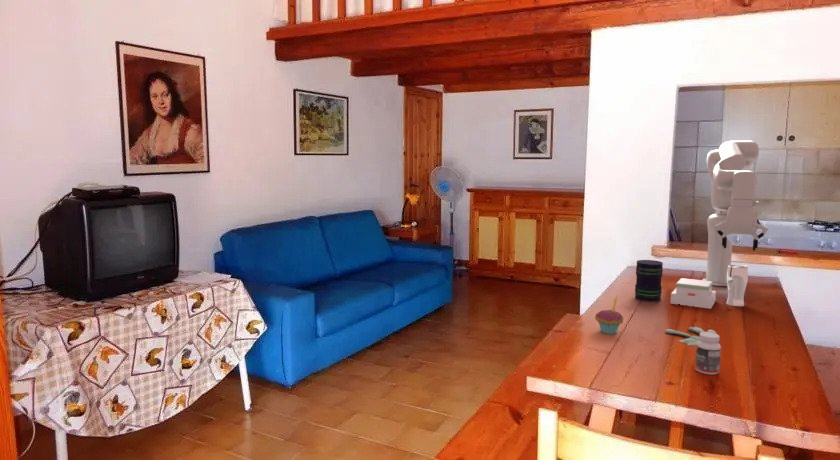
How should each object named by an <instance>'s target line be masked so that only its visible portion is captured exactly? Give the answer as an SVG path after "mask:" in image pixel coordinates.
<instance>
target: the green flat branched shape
mask: <svg viewBox="0 0 840 460" xmlns="http://www.w3.org/2000/svg"><path fill="white" fill-rule="evenodd" d="M687 330H688V331H689V332H691V333H694V334H696V335H691V334H688V333H686V332H682V331H680V330H674V329H671V328H667V329H665V332H664V334H669V335H674V336H679V337H682V338H685V339H679V340H678V342H680V343H683V344H686V345H687V346H695V347H697V342H698V341H700V338H699V336H697V335H700V333H701V332H710V333H715V334H717V332H716V331H715V330H714V329H707V331H706V330H704V329H702V328H701V327H698V326H689V327H688V328H687ZM717 335H719V334H717ZM720 340H721V339H719V341H720Z"/></svg>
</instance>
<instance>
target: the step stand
mask: <svg viewBox="0 0 840 460" xmlns="http://www.w3.org/2000/svg"><path fill="white" fill-rule="evenodd" d="M713 286H714V285H713V282H712V281H704V280H701V279H692V278H685V277H684V278H682V277H681V278H680V279H679V280H678V281H677V282H676V283H675V288H674V289H673V291H671V293H670V304H672V305H678V304H680V306H686V305H687V307H693V306H694V307H695V308H701V309H702V308H704V309H709V310H711V309H712V308H713V306H714V304H715V303H716V298H717V297H716V296H717V291H716V290H712V287H713Z"/></svg>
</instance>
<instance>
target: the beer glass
mask: <svg viewBox="0 0 840 460" xmlns="http://www.w3.org/2000/svg"><path fill="white" fill-rule="evenodd" d="M748 277H749V267H748V266H747V265H742V264H731V265H728V271H727V286H726V287H727V300H726V301H725V302H726V303H725V304H726V305H727V306H730V307H739V308H740V307H744V306H745V301H744V300H745V299H744V296H745V293H746V288H747V283H748V279H749V278H748Z"/></svg>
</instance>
